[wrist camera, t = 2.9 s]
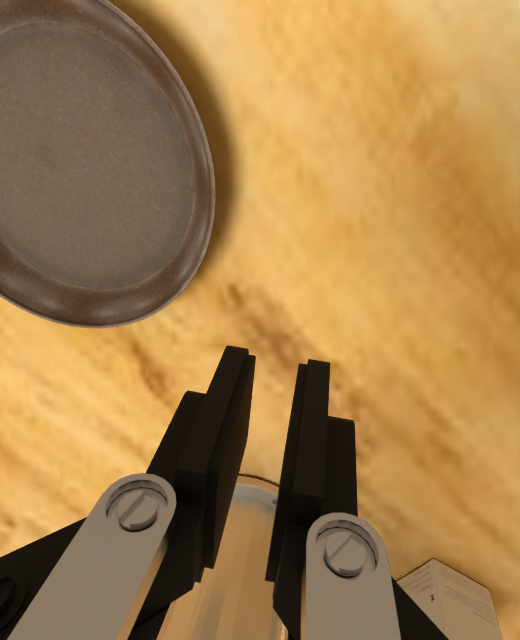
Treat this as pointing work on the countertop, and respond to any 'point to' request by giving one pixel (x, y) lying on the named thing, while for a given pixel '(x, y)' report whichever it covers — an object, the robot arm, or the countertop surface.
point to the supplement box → (453, 602)
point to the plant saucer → (96, 167)
